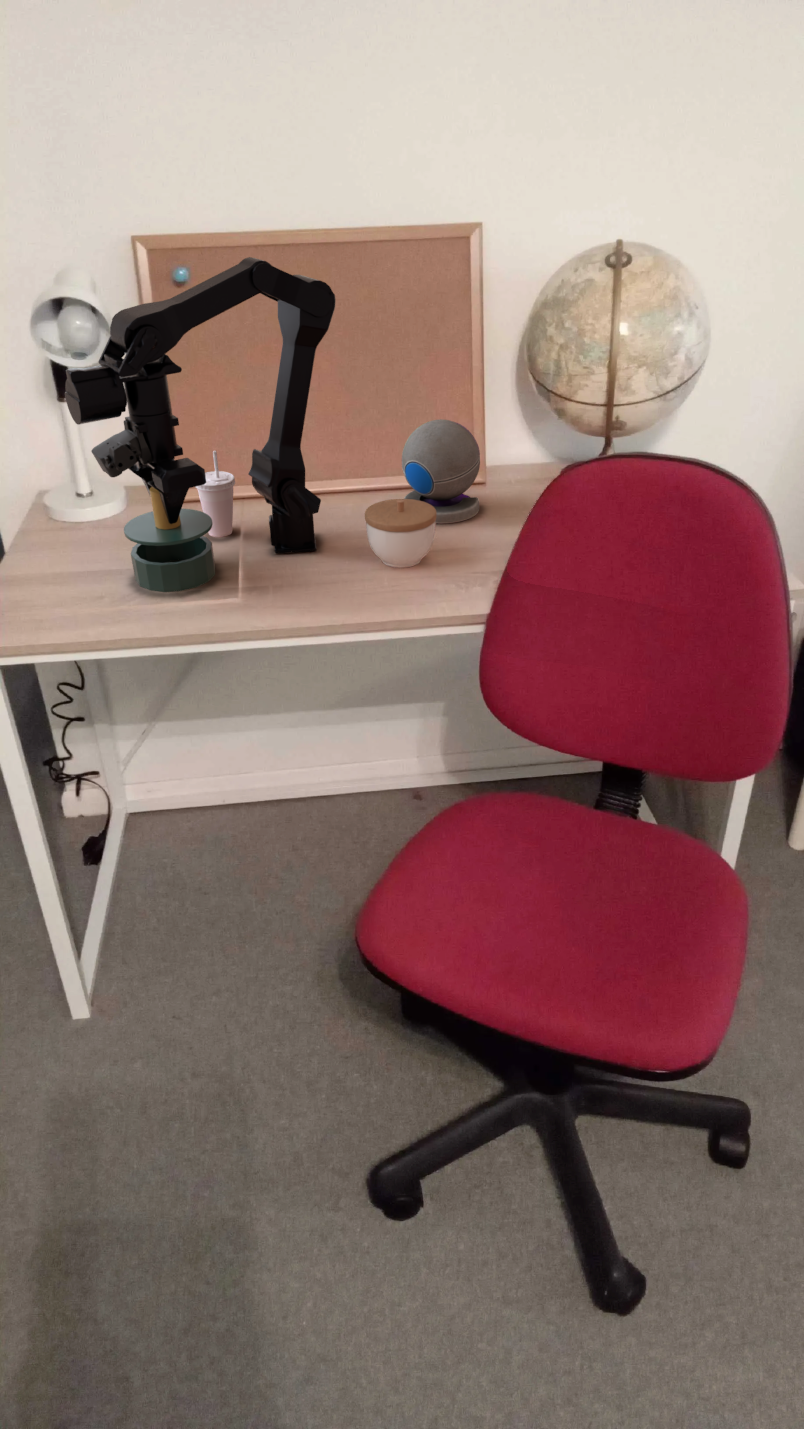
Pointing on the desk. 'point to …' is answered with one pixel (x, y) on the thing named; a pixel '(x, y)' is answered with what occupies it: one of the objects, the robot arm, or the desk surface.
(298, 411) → the robot arm
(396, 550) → the trinket box
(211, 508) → the smoothie
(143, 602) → the desk surface
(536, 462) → the desk surface
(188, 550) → the tin
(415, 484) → the webcam
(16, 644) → the desk surface
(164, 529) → the lid
